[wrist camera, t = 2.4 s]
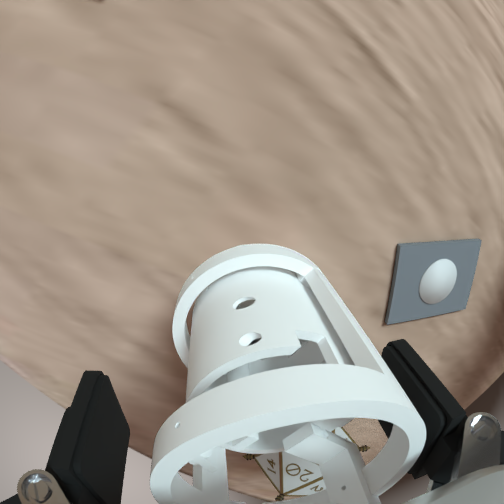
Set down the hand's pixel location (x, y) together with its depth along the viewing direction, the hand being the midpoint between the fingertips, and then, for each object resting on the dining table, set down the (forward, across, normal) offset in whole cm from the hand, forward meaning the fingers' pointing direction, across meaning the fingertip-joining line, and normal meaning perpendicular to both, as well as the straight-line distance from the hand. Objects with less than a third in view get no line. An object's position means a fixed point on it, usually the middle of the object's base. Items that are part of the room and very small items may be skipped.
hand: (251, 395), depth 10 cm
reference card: (+10, -15, +2) cm, 18 cm away
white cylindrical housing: (+10, -1, 0) cm, 10 cm away
